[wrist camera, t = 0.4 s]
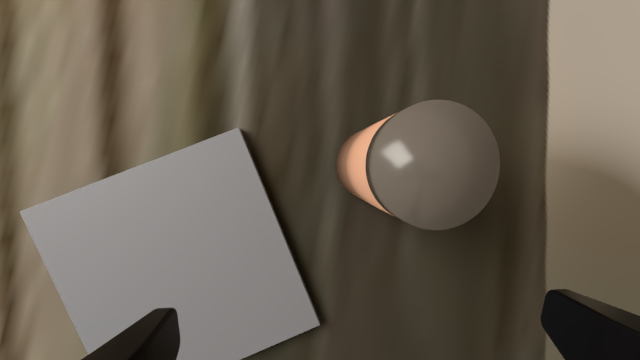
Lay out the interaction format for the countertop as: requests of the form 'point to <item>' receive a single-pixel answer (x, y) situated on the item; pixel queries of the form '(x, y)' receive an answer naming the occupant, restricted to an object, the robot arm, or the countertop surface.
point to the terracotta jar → (423, 164)
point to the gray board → (177, 253)
